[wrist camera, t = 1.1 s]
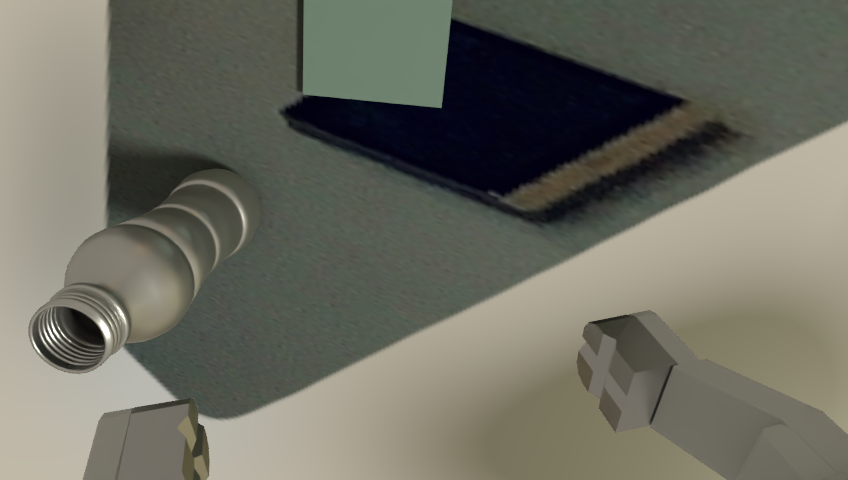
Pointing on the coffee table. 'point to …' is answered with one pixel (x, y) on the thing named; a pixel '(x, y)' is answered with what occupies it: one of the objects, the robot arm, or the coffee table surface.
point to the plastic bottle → (144, 271)
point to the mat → (376, 50)
